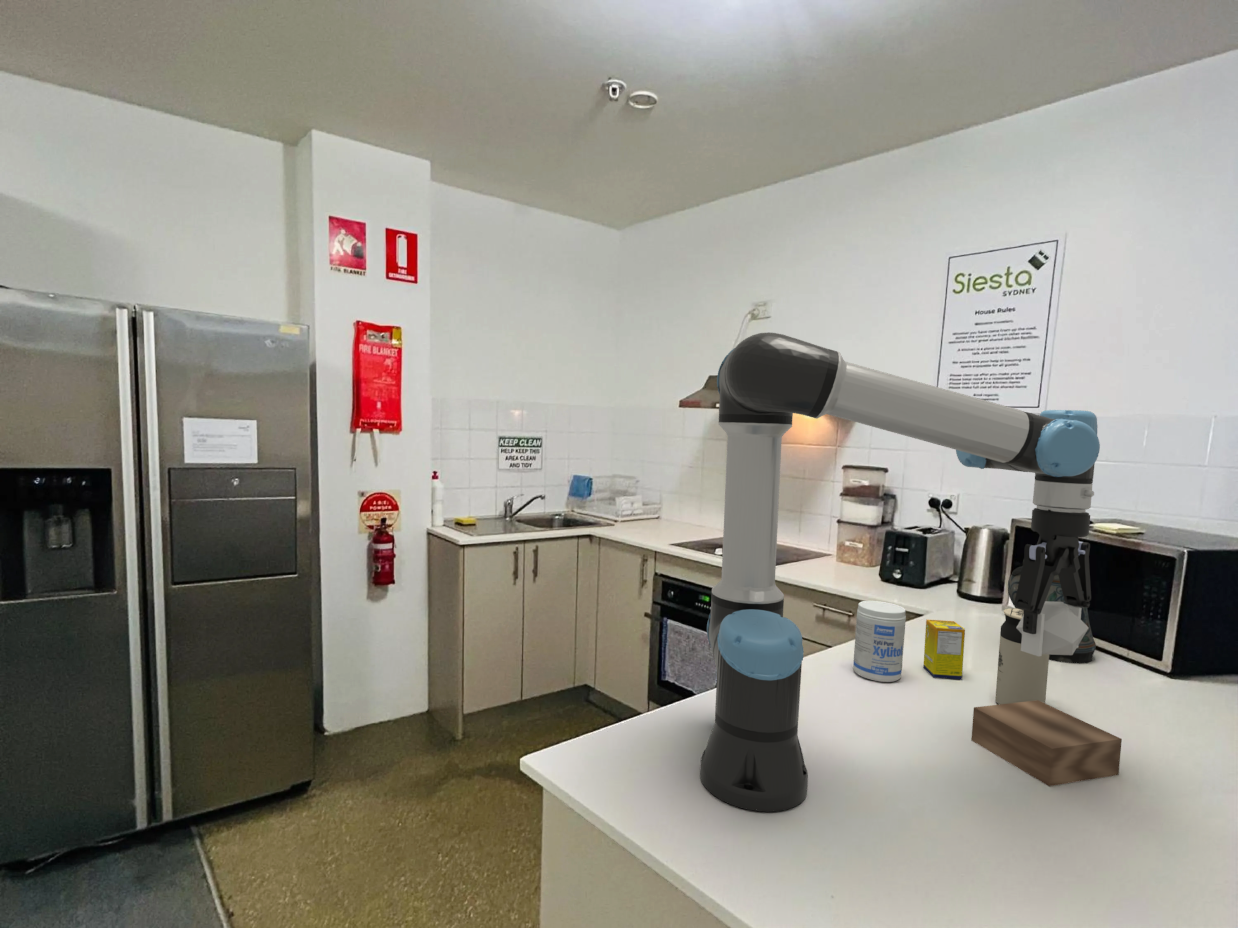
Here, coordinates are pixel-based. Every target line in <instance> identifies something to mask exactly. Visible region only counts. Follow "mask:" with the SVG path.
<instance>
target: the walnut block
mask: <svg viewBox="0 0 1238 928" xmlns="http://www.w3.org/2000/svg"><path fill="white" fill-rule="evenodd" d="M972 716H973V717H972V725H971V726H972V727H971V742H974V743H975V744H977V745H978V746H980V747H982V748H983V749H985V750H986V751H988V752H989V753H992V754H993V755H995V756H997V757H999V758H1000V759H1002V760H1003V761H1005V762H1006V763H1008V764H1010V765H1012V766H1013V767H1016V768H1017V769H1018V770H1021V771H1022V772H1024V773H1025V774H1028V775H1029V776H1031V777H1033V778H1034V779H1036V780H1037V781H1039V782H1041V783H1042V784H1044V785H1046V786H1047V787H1053V786H1058V785H1059V786H1060V785H1066V784H1070V783H1077V782H1078V783H1079V782H1085V781H1090V780H1096V779H1102V778H1107V777H1113V776H1114V777H1115V776H1119V773H1120V763H1121V762H1120V761H1121V752H1122V740H1123V739H1122V738H1121V737H1119V736H1116V735H1114V734H1112V733H1110V732H1108V731H1105V730H1103V729H1101V728H1099V727H1097V726H1095V725H1093V724H1090V723H1088V722H1086V721H1083V720H1081V719H1080V718H1077V717H1075V716H1074V715H1071V714H1069V713H1067V712H1064V711H1063V710H1060V709H1058V708H1056V707H1053V706H1051V705H1049V704H1047V703H1046V702H1045V703H1043V702H1041V701H1039V700H1036V701H1027V702H1018V703H1009V704H1000V705H999V704H991V705H981V706H974V707H973V714H972Z"/></svg>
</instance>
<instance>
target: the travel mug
mask: <svg viewBox="0 0 1238 928" xmlns="http://www.w3.org/2000/svg"><path fill="white" fill-rule="evenodd" d="M1003 614H1004V618H1005V620H1004V622H1003V623H1002V624H1001V626H1000V632H999V633H1000V634H999V646H998V647H999V648H998V661H997V671H996V673H997V674H996V683H995V685H996V686H995V703H997V705H1000V704H1009V703H1018V702H1027V701H1036V700H1039V701H1041V702H1043V703H1045V704H1046V702H1047V701H1046V697H1047V686H1048V676H1049V661H1050V660H1049V654H1042V656H1036V655H1032V654H1029V653H1026V652H1023V651H1021V641H1022V634H1021V632H1020V631H1019V630H1018V629H1017V628H1016V627H1017V625H1018V624H1019V622H1020V620H1021V618H1022V617H1023V615H1024V611H1023V610H1020V609H1016V608H1015V607H1014V608H1006V609H1004V610H1003Z"/></svg>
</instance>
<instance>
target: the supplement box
mask: <svg viewBox="0 0 1238 928" xmlns="http://www.w3.org/2000/svg"><path fill="white" fill-rule="evenodd" d="M924 636H925V637H924V648H923V649H924V652H923V653H924V654H923V666H922V667H923V669H924V670H925V671H926V673H928V674H929V675H930V676H931V677H932V678H935V679H936V678H938V679H951V680H952V679H953V680H962V679H963V669H964V668H963V667H964V653H965V652H964V651H965V637H966V629H965V628H964V627H963V626H961V625H960V624H958V623H957V622H956V621H955V620H941V619H926V621H925V634H924Z"/></svg>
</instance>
